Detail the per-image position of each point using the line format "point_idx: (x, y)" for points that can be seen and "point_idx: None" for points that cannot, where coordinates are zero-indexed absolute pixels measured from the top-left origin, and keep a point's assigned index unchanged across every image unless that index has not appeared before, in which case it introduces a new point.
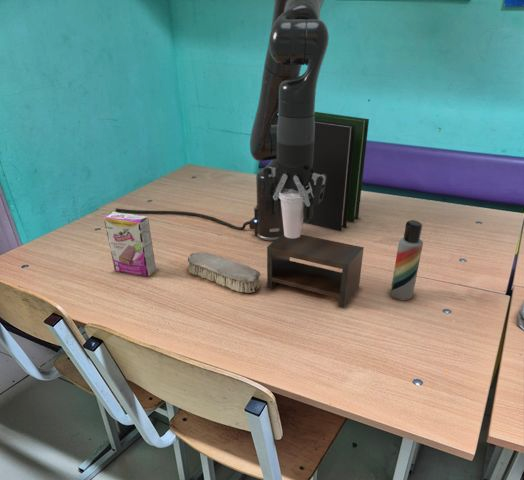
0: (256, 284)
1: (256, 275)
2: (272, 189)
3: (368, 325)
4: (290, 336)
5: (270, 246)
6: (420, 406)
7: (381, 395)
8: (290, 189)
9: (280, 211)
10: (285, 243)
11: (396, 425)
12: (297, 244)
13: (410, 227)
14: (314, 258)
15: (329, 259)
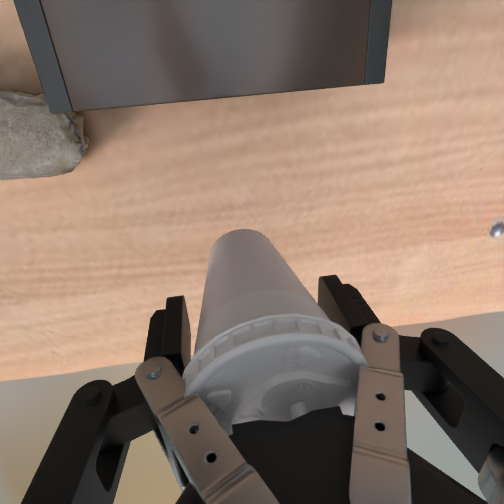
0: (81, 134)
1: (69, 134)
2: (111, 431)
3: (399, 118)
4: (270, 241)
5: (59, 102)
6: (500, 271)
7: (448, 281)
8: (223, 379)
9: (187, 330)
10: (86, 37)
11: (471, 314)
12: (135, 16)
13: None
14: (256, 94)
15: (311, 79)
